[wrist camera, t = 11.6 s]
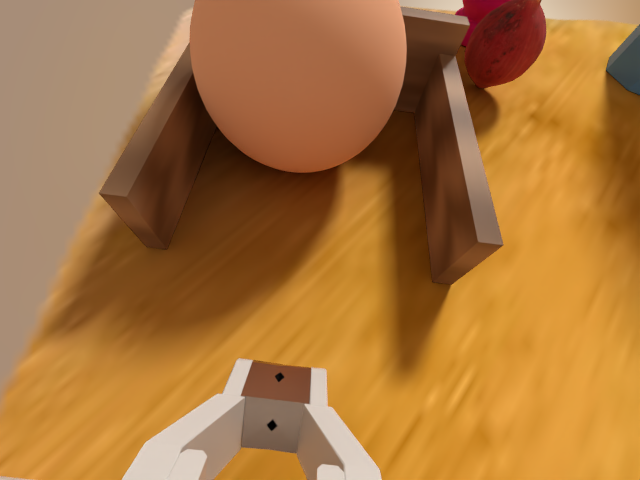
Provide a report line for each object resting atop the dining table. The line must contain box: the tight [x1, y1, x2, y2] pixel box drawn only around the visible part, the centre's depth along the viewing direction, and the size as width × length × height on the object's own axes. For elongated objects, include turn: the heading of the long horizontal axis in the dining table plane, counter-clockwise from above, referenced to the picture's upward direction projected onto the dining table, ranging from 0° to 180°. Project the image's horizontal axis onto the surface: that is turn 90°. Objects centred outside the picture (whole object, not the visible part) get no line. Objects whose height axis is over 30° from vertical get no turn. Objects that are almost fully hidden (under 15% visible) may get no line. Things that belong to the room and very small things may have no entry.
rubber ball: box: [190, 0, 407, 173], centre depth 17 cm, size 12×12×12 cm
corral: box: [99, 7, 503, 284], centre depth 19 cm, size 17×18×7 cm
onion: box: [465, 0, 546, 89], centre depth 25 cm, size 6×6×8 cm
